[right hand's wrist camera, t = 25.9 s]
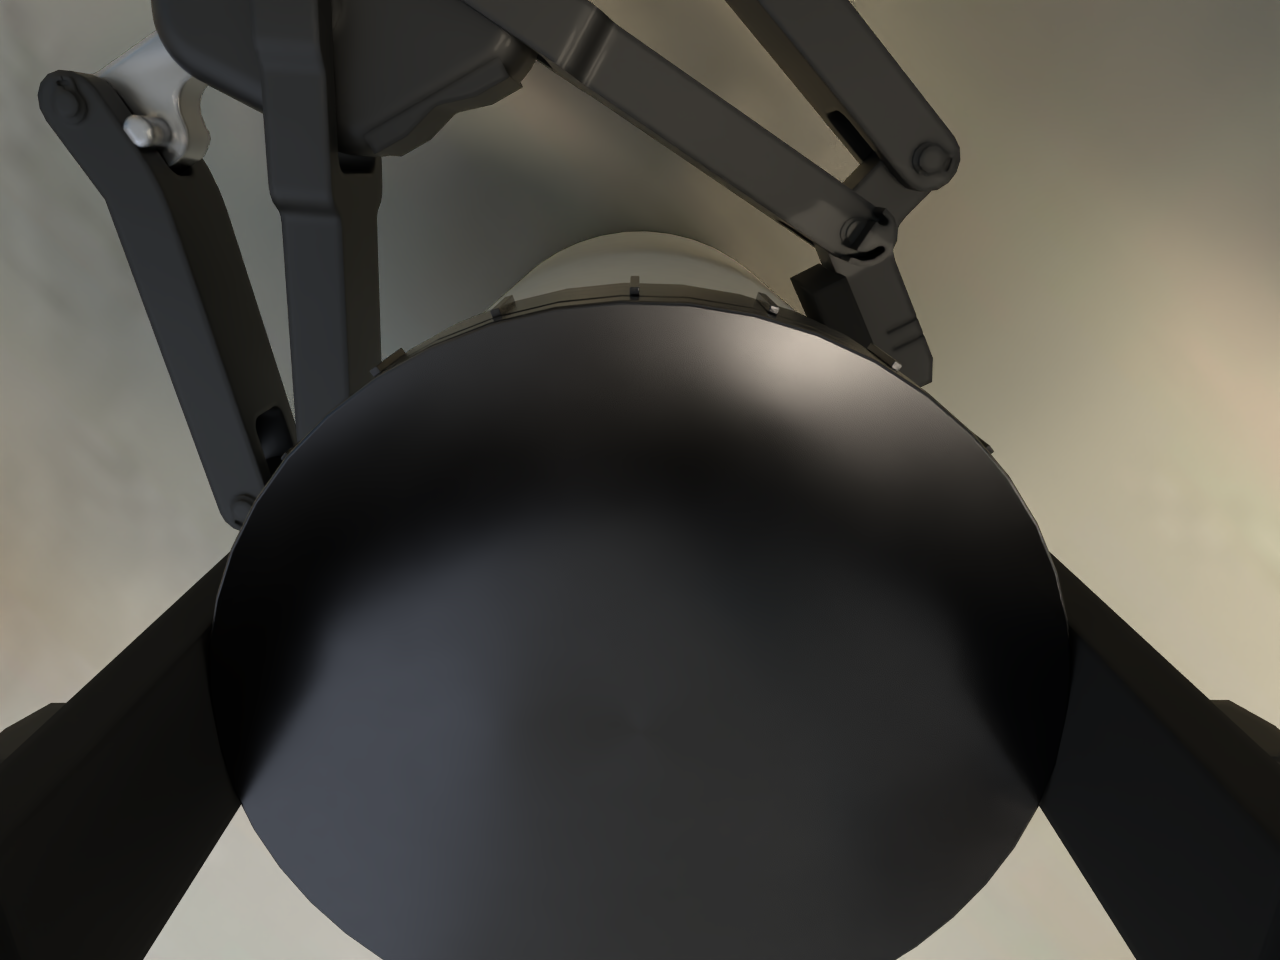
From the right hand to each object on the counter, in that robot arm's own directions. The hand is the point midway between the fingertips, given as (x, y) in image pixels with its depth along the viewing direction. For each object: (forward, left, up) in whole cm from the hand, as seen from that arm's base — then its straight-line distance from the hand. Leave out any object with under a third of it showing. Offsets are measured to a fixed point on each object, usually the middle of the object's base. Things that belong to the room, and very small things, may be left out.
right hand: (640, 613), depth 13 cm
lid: (0, 0, +3) cm, 3 cm away
